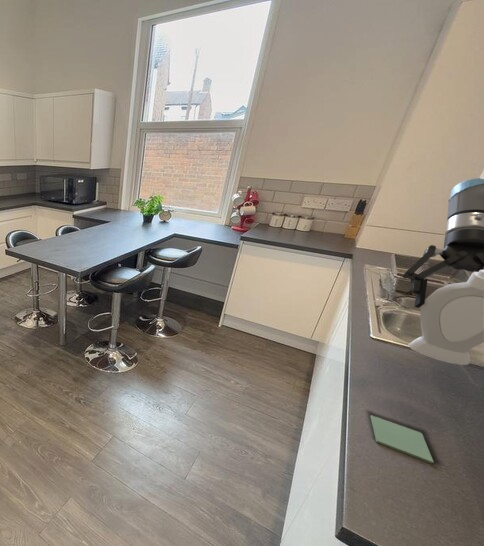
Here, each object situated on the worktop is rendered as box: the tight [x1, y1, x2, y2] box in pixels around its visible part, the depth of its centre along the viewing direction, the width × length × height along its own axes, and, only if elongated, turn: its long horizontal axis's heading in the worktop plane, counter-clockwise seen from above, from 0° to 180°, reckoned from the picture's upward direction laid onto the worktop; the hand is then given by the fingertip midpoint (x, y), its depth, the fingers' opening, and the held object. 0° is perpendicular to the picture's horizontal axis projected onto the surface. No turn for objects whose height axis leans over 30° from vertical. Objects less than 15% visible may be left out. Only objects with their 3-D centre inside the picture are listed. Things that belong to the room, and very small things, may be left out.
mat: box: [369, 415, 435, 465], centre depth 71 cm, size 9×9×1 cm
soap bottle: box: [408, 270, 484, 366], centre depth 70 cm, size 13×8×24 cm, turn 50°
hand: (461, 314), depth 70 cm, fingers closed on soap bottle, 13 cm apart
